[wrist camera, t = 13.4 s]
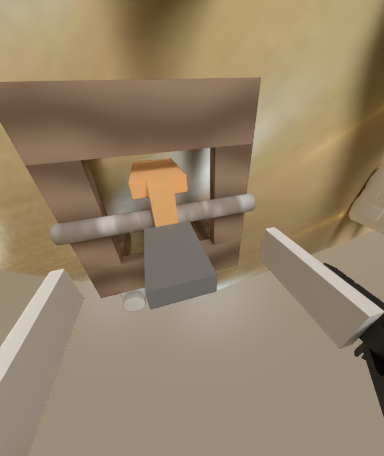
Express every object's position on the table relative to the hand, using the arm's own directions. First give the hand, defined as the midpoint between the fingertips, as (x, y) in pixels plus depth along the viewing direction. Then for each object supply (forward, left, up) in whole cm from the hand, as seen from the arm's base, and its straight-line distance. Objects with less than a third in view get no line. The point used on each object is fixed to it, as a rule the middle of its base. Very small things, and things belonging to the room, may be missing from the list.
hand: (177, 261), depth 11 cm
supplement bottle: (+20, -8, -22) cm, 31 cm away
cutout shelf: (0, 0, -22) cm, 22 cm away
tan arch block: (0, 0, -16) cm, 16 cm away
